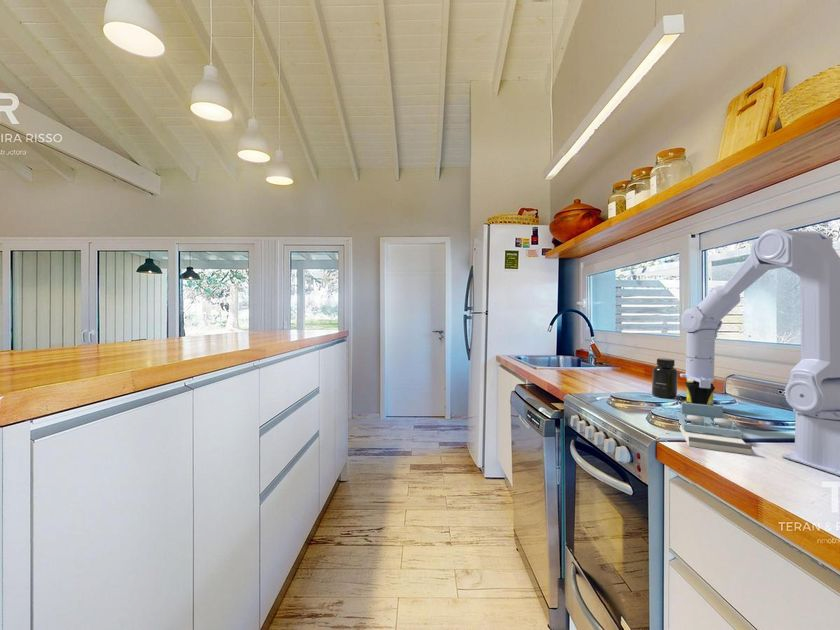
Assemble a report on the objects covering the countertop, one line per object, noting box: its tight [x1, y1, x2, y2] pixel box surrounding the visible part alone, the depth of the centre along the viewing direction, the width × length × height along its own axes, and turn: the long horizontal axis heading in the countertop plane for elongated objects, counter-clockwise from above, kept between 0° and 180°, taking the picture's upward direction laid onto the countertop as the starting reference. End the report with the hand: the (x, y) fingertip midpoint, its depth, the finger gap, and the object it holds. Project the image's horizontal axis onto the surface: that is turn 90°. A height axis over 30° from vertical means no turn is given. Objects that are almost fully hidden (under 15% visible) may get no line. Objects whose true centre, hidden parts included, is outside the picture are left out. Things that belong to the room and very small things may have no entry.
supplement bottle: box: [651, 357, 679, 400], centre depth 124 cm, size 7×7×12 cm
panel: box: [675, 402, 742, 438], centre depth 89 cm, size 12×10×4 cm
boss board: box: [679, 415, 753, 456], centre depth 86 cm, size 20×10×4 cm, turn 153°
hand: (698, 412), depth 97 cm, fingers closed
